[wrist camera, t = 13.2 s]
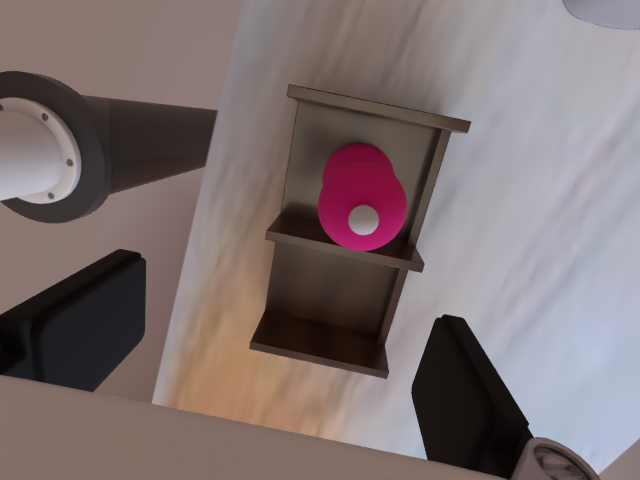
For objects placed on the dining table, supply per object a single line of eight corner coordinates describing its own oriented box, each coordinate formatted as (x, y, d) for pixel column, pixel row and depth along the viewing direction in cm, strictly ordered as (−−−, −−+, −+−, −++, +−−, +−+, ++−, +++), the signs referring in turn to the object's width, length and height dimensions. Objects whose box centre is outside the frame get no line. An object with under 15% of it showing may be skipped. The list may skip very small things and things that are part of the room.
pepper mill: (402, 162, 37) (457, 201, 18) (367, 217, 39) (383, 302, 20) (346, 128, 36) (341, 132, 18) (313, 186, 39) (279, 244, 20)
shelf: (269, 304, 48) (249, 349, 38) (303, 93, 38) (288, 83, 29) (379, 328, 47) (387, 379, 38) (441, 122, 38) (471, 121, 29)
